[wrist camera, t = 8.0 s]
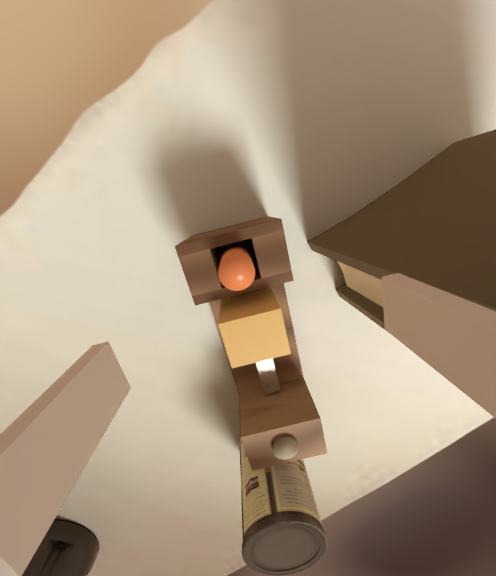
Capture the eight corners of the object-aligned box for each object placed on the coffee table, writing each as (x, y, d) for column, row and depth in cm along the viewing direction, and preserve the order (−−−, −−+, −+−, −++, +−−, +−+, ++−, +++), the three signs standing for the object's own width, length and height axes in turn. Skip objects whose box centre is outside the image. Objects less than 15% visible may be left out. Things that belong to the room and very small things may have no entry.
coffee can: (287, 467, 44) (310, 579, 31) (232, 459, 43) (232, 572, 29) (306, 425, 41) (341, 528, 28) (248, 414, 40) (256, 517, 27)
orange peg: (226, 275, 26) (223, 294, 20) (218, 248, 25) (213, 260, 19) (253, 269, 26) (258, 285, 20) (246, 241, 25) (250, 250, 19)
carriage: (275, 314, 33) (291, 353, 24) (232, 325, 33) (231, 368, 24) (267, 280, 31) (280, 308, 22) (222, 291, 31) (217, 324, 22)
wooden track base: (307, 400, 40) (328, 457, 31) (248, 415, 40) (252, 475, 31) (267, 216, 30) (282, 219, 21) (191, 236, 31) (173, 247, 22)
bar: (278, 380, 36) (280, 390, 34) (262, 384, 36) (264, 394, 35) (251, 275, 31) (252, 279, 29) (233, 279, 31) (233, 284, 29)
